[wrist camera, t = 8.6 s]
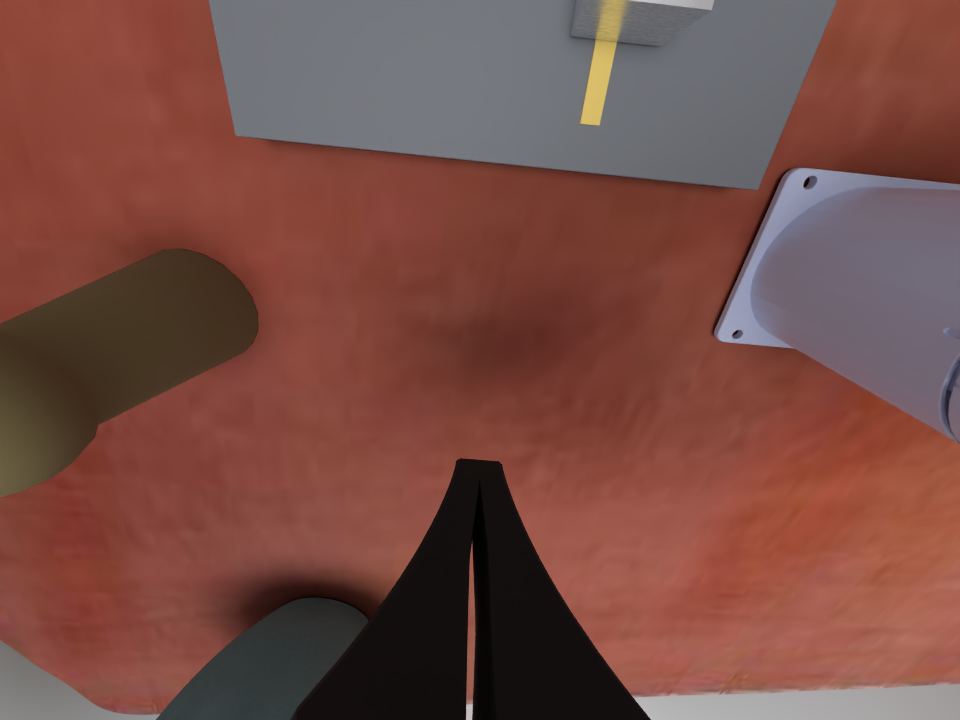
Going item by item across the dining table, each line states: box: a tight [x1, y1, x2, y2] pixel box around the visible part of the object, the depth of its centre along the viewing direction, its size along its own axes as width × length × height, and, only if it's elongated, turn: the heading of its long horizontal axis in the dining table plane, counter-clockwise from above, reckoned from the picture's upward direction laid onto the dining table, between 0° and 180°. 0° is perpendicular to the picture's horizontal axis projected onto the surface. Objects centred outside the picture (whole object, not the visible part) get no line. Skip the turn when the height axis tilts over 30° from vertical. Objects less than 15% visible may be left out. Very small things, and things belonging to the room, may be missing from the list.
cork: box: [0, 249, 258, 497], centre depth 14 cm, size 6×6×11 cm
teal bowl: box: [156, 598, 368, 720], centre depth 28 cm, size 18×18×12 cm
